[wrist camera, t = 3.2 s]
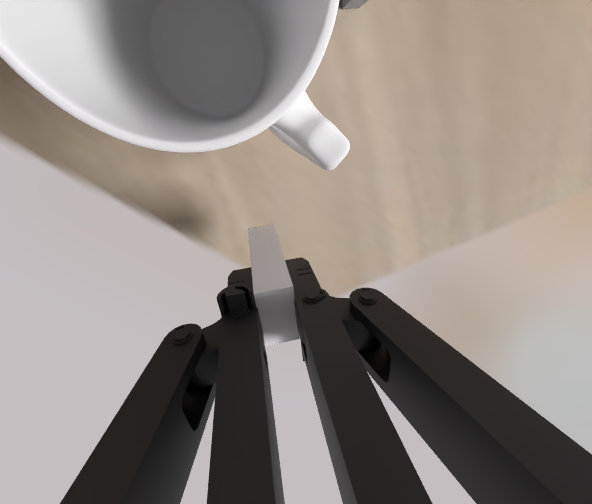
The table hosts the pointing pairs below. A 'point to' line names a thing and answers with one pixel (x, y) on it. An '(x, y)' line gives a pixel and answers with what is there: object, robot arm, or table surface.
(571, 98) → the table surface
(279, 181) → the table surface
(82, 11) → the mug
